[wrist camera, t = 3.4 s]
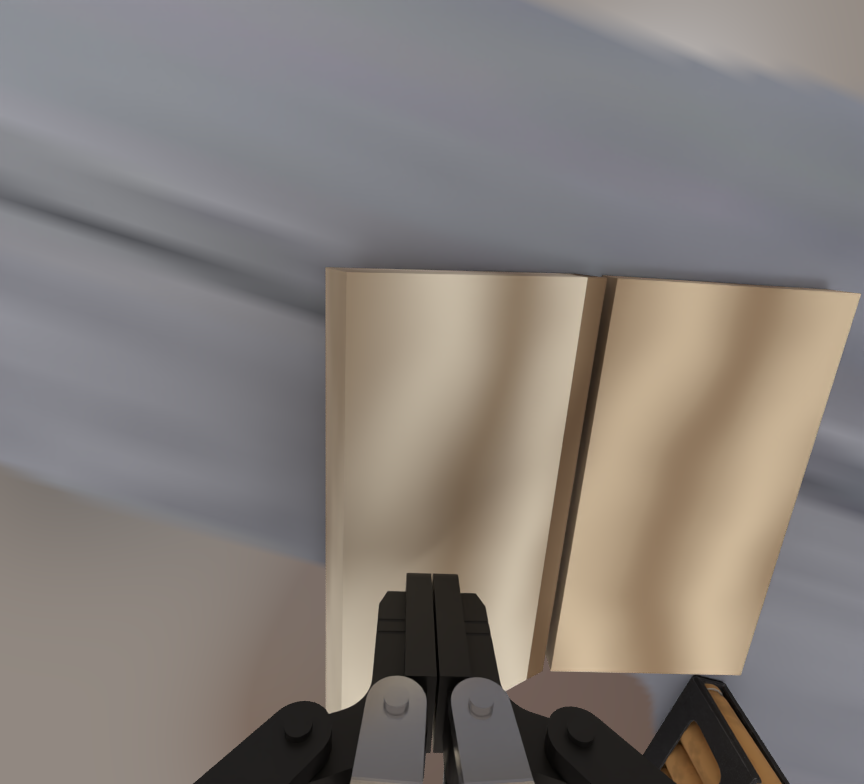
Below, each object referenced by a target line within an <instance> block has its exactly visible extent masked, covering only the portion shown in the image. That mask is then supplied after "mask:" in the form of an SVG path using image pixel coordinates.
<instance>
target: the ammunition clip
mask: <svg viewBox="0 0 864 784" xmlns="http://www.w3.org/2000/svg"><path fill="white" fill-rule="evenodd" d="M643 756H644V757H645V758H646V759H648V760H649V761H650V762H651V763H652V764H654V765H655V766H656V767H657V768H658V769H660V770H661V771H662V772H663V773H664V774H666V775H667V776H668V777H669V778H670V779H672V780H673V781H674V782H675V783H676V784H789V782H788V780H787V779H786V777H785V776H784V774H783V773H782V771H781V770H780V768H779V766H778V765H777V763H776V762H775V760H774V759H773V757H772V756H771V754H770V752H769V751H768V749H767V748H766V746H765V745H764V743H763V742H762V740H761V739H760V737H759V735H758V734H757V732H756V731H755V729H754V728H753V726H752V725H751V723H750V721H749V720H748V718H747V717H746V715H745V714H744V712H743V711H742V709H741V707H740V706H739V704H738V703H737V701H736V700H735V698H734V697H733V695H732V693H731V692H730V690H729V689H728V687H727V686H726V684H725V683H721V682H717V681H713V680H709V679H705V678H701V677H698V676H696V677H691V679H690V681H689V682H688V684H687V685H686V687H685V689H684V690H683V692H682V693H681V695H680V697H679V698H678V700H677V701H676V703H675V705H674V706H673V708H672V709H671V711H670V713H669V714H668V716H667V717H666V719H665V721H664V722H663V724H662V725H661V727H660V729H659V730H658V732H657V733H656V735H655V736H654V738H653V740H652V741H651V743H650V744H649V746H648V748H647V749H646V751H645V753H644V754H643Z"/></svg>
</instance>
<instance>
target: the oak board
mask: <svg viewBox="0 0 864 784" xmlns="http://www.w3.org/2000/svg"><path fill="white" fill-rule="evenodd" d="M602 277H605V278H607V281H606V287H605V293H604V299H603V306H602V312H601V318H600V324H599V330H598V336H597V342H596V348H595V354H594V360H593V366H592V372H591V379H590V385H589V391H588V397H587V403H586V409H585V415H584V421H583V427H582V433H581V439H580V445H579V452H578V458H577V464H576V470H575V476H574V482H573V488H572V494H571V500H570V506H569V512H568V518H567V525H566V531H565V537H564V543H563V549H562V555H561V561H560V567H559V573H558V579H557V585H556V591H555V598H554V604H553V610H552V616H551V622H550V628H549V634H548V640H547V646H546V652H545V654H546V658H547V661H548V664H549V667H550V670H551V671H572V672H616V673H662V674H709V675H741V672H742V669H743V666H744V663H745V660H746V656H747V653H748V650H749V647H750V644H751V641H752V637H753V634H754V631H755V628H756V625H757V622H758V618H759V615H760V612H761V609H762V606H763V603H764V599H765V596H766V593H767V590H768V587H769V584H770V580H771V577H772V574H773V571H774V568H775V565H776V561H777V558H778V555H779V552H780V549H781V546H782V542H783V539H784V536H785V533H786V530H787V527H788V523H789V520H790V517H791V514H792V511H793V508H794V504H795V501H796V498H797V495H798V492H799V489H800V486H801V482H802V479H803V476H804V473H805V470H806V467H807V463H808V460H809V457H810V454H811V451H812V448H813V444H814V441H815V438H816V435H817V432H818V429H819V425H820V422H821V419H822V416H823V413H824V410H825V406H826V403H827V400H828V397H829V394H830V391H831V387H832V384H833V381H834V378H835V375H836V372H837V368H838V365H839V362H840V359H841V356H842V353H843V349H844V346H845V343H846V340H847V337H848V334H849V330H850V327H851V324H852V321H853V318H854V315H855V311H856V308H857V305H858V302H859V299H860V296H861V294H859V293H851V292H843V291H836V290H827V289H811V288H795V287H780V286H764V285H748V284H732V283H717V282H701V281H685V280H669V279H654V278H638V277H622V276H606V275H603V276H602Z"/></svg>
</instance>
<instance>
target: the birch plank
mask: <svg viewBox="0 0 864 784" xmlns="http://www.w3.org/2000/svg"><path fill="white" fill-rule="evenodd" d="M606 281H607V278H605V277H597V276H589V275H581V274H565V273H525V272H487V271H448V270H410V269H371V268H333V267H326V710H327V712H328V713H329V714H330V713H333V712H337V711H340V710H343V709H346V708H349V707H351V706H353V705H354V704H356V703H357V702H359V701H360V700H361V699H362V698H363V697H364V696H365V694H366V693H367V692H368V690H369V688H370V685H371V682H372V674H373V663H374V653H375V642H376V632H377V621H378V610H379V603H380V601H381V600H382V599H383V597H384V596H385V594H386V593H387V591H405V590H406V574H407V573H431V577H432V576H433V573H436V574H458V578H459V585H460V593H476V594H477V596H478V597H479V598H480V600H481V601H482V602H483V604H484V605H485V606H486V612H487V617H488V624H489V627H490V632H491V637H492V642H493V647H494V653H495V658H496V663H497V668H498V673H499V678H500V682H501V686H502V688H503V689H504V691H506V690H508V689H510V688H512V687H513V686H516V685H517V684H519V683H521V682H523V681H525V680H527V679H529V678H531V677H532V676H534V675H536V674H538V673H540V672H541V671H542V670H543V665H544V658H545V652H546V646H547V640H548V634H549V628H550V622H551V616H552V610H553V604H554V598H555V591H556V585H557V579H558V573H559V567H560V561H561V555H562V549H563V543H564V537H565V531H566V525H567V518H568V512H569V506H570V500H571V494H572V488H573V482H574V476H575V470H576V464H577V458H578V452H579V445H580V439H581V433H582V427H583V421H584V415H585V409H586V403H587V397H588V391H589V385H590V379H591V372H592V366H593V360H594V354H595V348H596V342H597V336H598V330H599V324H600V318H601V312H602V306H603V299H604V293H605V287H606Z"/></svg>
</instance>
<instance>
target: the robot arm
mask: <svg viewBox="0 0 864 784" xmlns="http://www.w3.org/2000/svg"><path fill="white" fill-rule="evenodd" d="M432 735H433V752H434V753H443V759H444V776H443V784H676V783H675V782H674V781H673V780H672V779H670V778H669V777H668V776H667V775H666V774H664V773H663V772H662V771H661V770H660V769H658V768H657V767H656V766H655V765H654V764H652V763H651V762H650V761H649V760H648V759H646V758H645V757H644V756H643V755H642V754H640V753H639V752H638V751H637V750H636V749H634V748H633V747H632V746H631V745H630V744H628V743H627V742H626V741H625V740H624V739H622V738H621V737H620V736H619V735H618V734H617V733H615V732H614V731H613V730H612V729H610V728H609V727H608V726H607V725H606V724H604V723H603V722H602V721H601V720H600V719H599V718H597V717H596V716H595V715H593V714H592V713H590V712H588V711H586V710H584V709H581V708H577V707H563V708H560V709H557V710H556V711H555V712H553V713H552V715H551V716H550V718H547V717H544V716H541V715H538V714H535V713H532V712H529V711H527V710H525V709H522V708H521V707H519V706H518V705H516V704H515V703H514V702H513V701H511V700H510V698H509V697H508V695H507V693H506V692H505V691H504V689H503V688H502V686H501V682H500V678H499V673H498V668H497V663H496V658H495V653H494V647H493V642H492V637H491V632H490V627H489V624H488V617H487V612H486V606H485V605H484V604H483V602H482V601H481V600H480V598H479V597H478V596H477V594H476V593H460V585H459V578H458V574H436V573H433V576H432V577H431V573H407V574H406V590H405V591H387V593H386V594H385V596H384V597H383V599H382V600H381V601H380V603H379V610H378V621H377V632H376V642H375V653H374V663H373V674H372V682H371V685H370V688H369V690H368V692H367V693H366V694H365V696H364V697H363V698H362V699H361V700H360V701H359V702H357V703H356V704H354V705H353V706H351V707H349V708H346V709H343V710H340V711H337V712H333V713H330V714H329V713H328V712H327V710H326V709H325V708H324V707H322V706H321V705H319V704H317V703H315V702H310V701H300V702H295V703H292V704H289V705H287V706H285V707H283V708H282V709H281V710H279V711H278V712H277V713H275V714H274V715H273V716H272V717H271V718H270V719H268V720H267V721H266V722H265V723H264V724H263V725H261V726H260V727H259V728H258V729H257V730H255V731H254V732H253V733H252V734H251V735H250V736H249V737H247V738H246V739H245V740H244V741H243V742H241V744H239V745H238V746H237V747H236V748H234V749H233V750H232V751H231V752H230V753H229V754H227V755H226V756H225V757H224V758H223V759H222V760H220V761H219V762H218V763H217V764H216V765H215V766H214V767H212V768H211V769H210V770H209V771H208V772H206V773H205V774H204V775H203V776H202V777H201V778H199V779H198V780H197V781H196V782H195V783H193V784H422V782H423V778H424V768H425V756H426V753H430V751H431V740H432V739H431V738H432Z"/></svg>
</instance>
